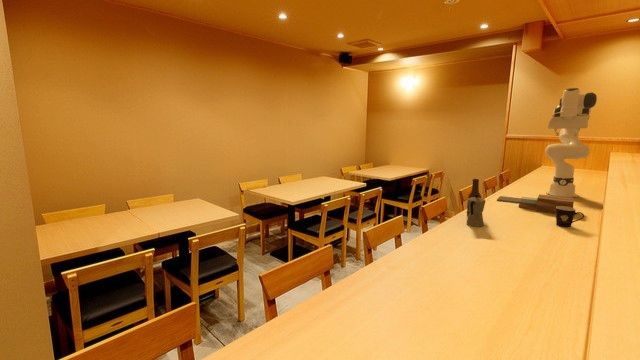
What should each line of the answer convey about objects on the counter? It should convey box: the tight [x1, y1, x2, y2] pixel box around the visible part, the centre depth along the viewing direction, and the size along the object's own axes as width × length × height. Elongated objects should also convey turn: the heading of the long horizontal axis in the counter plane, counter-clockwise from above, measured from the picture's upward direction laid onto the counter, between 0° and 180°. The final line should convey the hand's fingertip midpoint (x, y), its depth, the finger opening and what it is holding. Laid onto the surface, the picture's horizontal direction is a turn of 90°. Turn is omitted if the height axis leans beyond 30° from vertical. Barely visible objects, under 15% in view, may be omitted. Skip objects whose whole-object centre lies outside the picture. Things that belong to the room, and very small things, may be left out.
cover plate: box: [521, 196, 538, 204], centre depth 201 cm, size 6×20×2 cm, turn 50°
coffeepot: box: [466, 194, 486, 228], centre depth 175 cm, size 15×9×18 cm, turn 137°
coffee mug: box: [555, 206, 585, 229], centre depth 169 cm, size 12×9×10 cm
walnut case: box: [518, 194, 575, 215], centre depth 199 cm, size 12×28×9 cm, turn 50°
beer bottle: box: [466, 178, 482, 218], centre depth 188 cm, size 8×8×24 cm
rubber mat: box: [496, 195, 522, 204], centre depth 221 cm, size 12×26×1 cm, turn 50°
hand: (566, 135), depth 201 cm, fingers open, 8 cm apart
